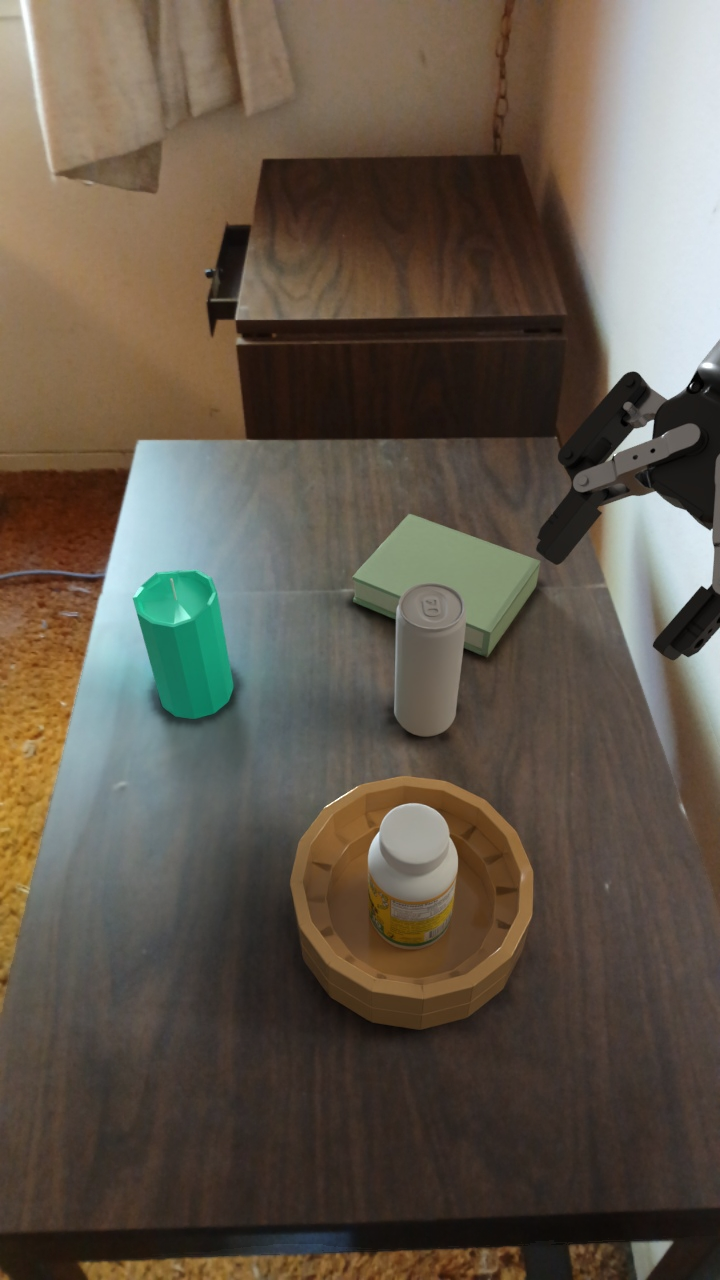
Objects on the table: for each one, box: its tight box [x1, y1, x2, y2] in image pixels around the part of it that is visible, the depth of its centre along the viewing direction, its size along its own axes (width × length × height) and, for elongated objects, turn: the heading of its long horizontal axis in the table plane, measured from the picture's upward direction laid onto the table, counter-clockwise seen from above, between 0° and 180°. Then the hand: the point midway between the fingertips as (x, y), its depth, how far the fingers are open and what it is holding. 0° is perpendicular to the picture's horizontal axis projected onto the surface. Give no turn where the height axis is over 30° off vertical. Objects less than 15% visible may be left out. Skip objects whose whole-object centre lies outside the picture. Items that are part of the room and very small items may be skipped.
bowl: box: [289, 775, 534, 1031], centre depth 56 cm, size 15×15×5 cm
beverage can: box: [393, 583, 466, 738], centre depth 65 cm, size 5×5×12 cm
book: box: [352, 513, 541, 658], centre depth 77 cm, size 13×10×3 cm
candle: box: [132, 569, 235, 720], centre depth 67 cm, size 6×6×12 cm
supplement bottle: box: [368, 803, 458, 949], centre depth 54 cm, size 5×5×10 cm
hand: (601, 603), depth 46 cm, fingers open, 8 cm apart
